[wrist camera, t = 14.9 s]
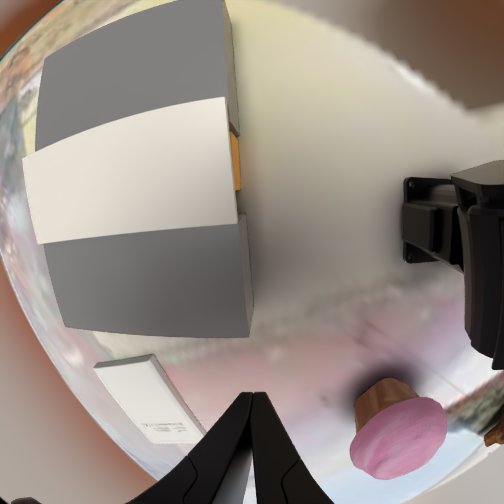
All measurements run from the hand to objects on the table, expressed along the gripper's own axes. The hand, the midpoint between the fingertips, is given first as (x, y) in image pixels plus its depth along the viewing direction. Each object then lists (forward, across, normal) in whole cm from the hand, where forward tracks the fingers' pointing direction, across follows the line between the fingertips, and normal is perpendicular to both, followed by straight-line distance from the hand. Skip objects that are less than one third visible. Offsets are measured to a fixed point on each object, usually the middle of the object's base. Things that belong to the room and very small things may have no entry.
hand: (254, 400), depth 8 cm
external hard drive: (+13, +13, +14) cm, 23 cm away
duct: (+12, +8, -9) cm, 17 cm away
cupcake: (+12, -11, +13) cm, 21 cm away
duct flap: (+7, +8, -8) cm, 14 cm away
